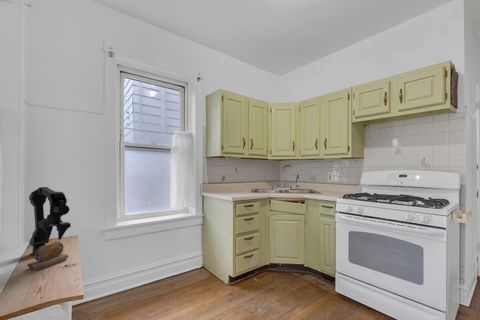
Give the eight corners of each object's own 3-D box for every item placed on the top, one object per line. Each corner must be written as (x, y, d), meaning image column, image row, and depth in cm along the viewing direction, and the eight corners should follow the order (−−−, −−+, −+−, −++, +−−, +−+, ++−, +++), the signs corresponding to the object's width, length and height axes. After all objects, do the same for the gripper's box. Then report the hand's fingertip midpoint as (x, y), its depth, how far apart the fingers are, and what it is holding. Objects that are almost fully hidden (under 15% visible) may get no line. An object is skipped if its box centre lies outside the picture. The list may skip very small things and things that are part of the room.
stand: (26, 269, 131) (27, 263, 131) (57, 258, 148) (58, 253, 148) (37, 270, 129) (38, 265, 129) (67, 259, 146) (68, 254, 146)
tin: (36, 263, 132) (37, 248, 132) (32, 262, 132) (33, 247, 133) (63, 254, 146) (64, 240, 146) (59, 253, 147) (60, 240, 147)
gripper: (29, 213, 141) (28, 240, 141) (53, 216, 136) (51, 244, 136) (49, 210, 152) (48, 235, 152) (71, 213, 147) (70, 239, 146)
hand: (54, 238), depth 146 cm, fingers open, 9 cm apart
